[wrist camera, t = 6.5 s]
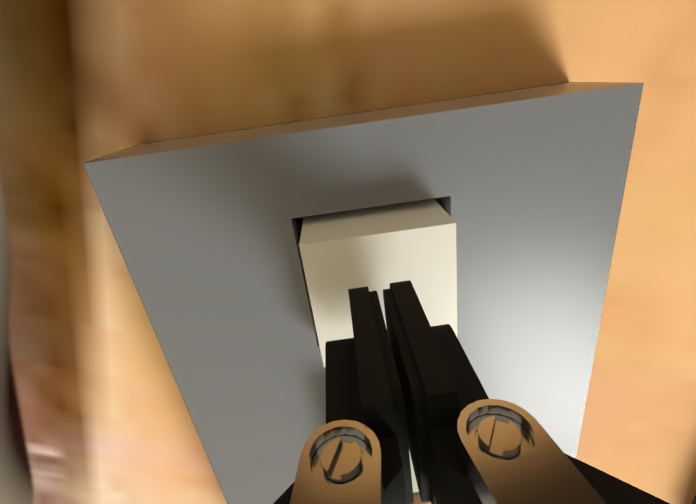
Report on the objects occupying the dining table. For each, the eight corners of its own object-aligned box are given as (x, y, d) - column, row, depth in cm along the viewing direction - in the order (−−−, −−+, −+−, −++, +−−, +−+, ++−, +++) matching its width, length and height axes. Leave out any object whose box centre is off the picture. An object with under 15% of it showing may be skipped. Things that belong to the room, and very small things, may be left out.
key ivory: (303, 215, 13) (298, 245, 10) (433, 197, 13) (455, 223, 10) (324, 322, 15) (324, 367, 12) (437, 306, 15) (457, 348, 12)
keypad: (139, 144, 14) (83, 163, 11) (570, 82, 14) (643, 82, 11) (275, 529, 24) (267, 598, 21) (526, 495, 24) (557, 560, 21)
